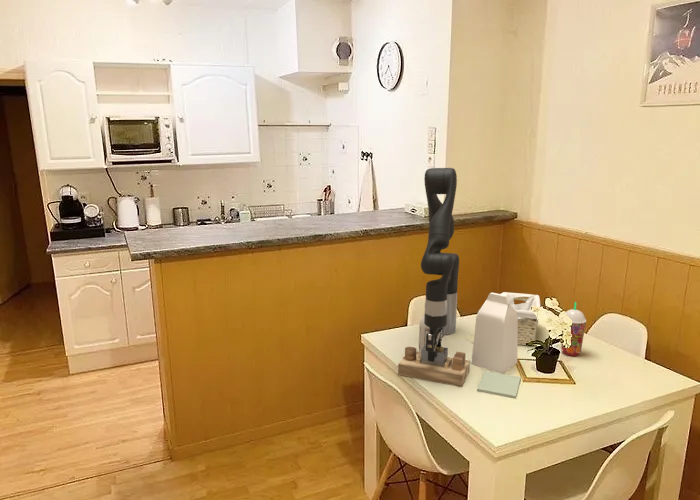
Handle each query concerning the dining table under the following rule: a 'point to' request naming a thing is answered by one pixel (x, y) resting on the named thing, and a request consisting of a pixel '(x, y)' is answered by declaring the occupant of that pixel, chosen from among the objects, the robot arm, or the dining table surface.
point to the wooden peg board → (434, 368)
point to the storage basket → (525, 315)
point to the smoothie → (575, 332)
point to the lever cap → (440, 356)
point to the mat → (499, 384)
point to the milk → (495, 335)
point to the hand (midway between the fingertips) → (434, 356)
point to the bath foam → (422, 333)
